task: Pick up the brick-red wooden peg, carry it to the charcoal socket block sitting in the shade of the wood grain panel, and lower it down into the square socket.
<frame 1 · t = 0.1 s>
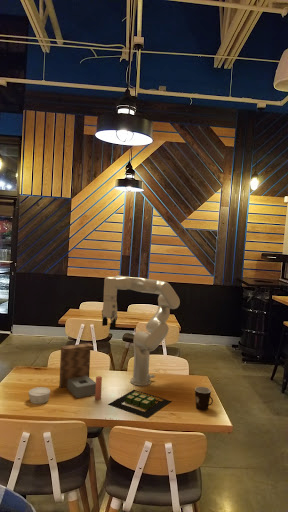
hand: (108, 327, 219), 37 cm above the table, tool pointing down, fingers open, 9 cm apart
socket block: (81, 391, 216), on the table
wood grain panel: (74, 384, 225), on the table
coffee mug: (202, 409, 200), on the table
peg: (98, 398, 207), on the table
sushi: (140, 404, 204), on the table
ramekin: (39, 401, 201), on the table
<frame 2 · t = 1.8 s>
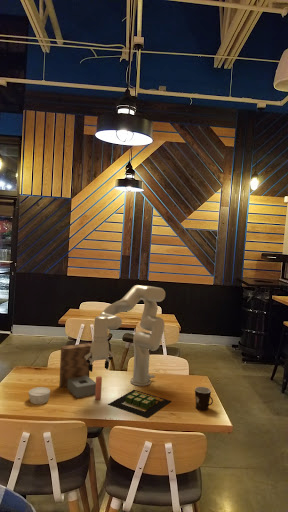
hand: (98, 369, 206), 16 cm above the table, tool pointing down, fingers open, 9 cm apart
nothing on the table moved.
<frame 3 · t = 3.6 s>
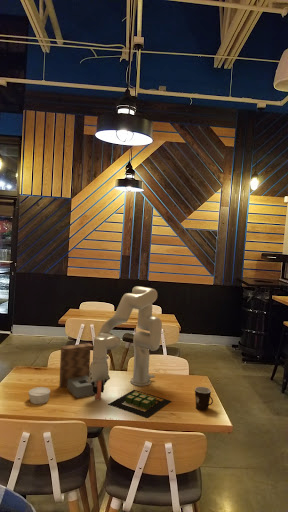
hand: (98, 392, 207), 4 cm above the table, tool pointing down, fingers closed on peg, 3 cm apart
peg: (98, 398, 207), on the table, touching gripper
everything else where it was.
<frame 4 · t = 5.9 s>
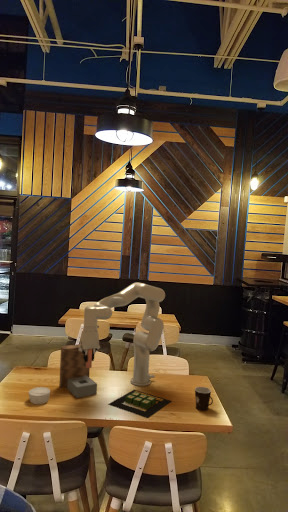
hand: (88, 360, 211), 19 cm above the table, tool pointing down, fingers closed on peg, 3 cm apart
peg: (88, 367, 212), point 16 cm above the table, touching gripper
everything else where it was.
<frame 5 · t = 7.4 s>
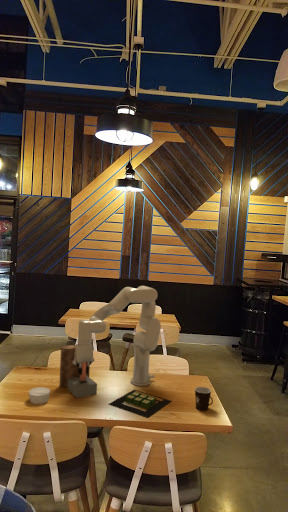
hand: (83, 373, 215), 11 cm above the table, tool pointing down, fingers closed on peg, 3 cm apart
peg: (82, 379, 215), point 7 cm above the table, touching gripper
everything else where it was.
when the fingers open (7 cm above the table, at t = 8.4 s): peg drops 2 cm, resting on socket block.
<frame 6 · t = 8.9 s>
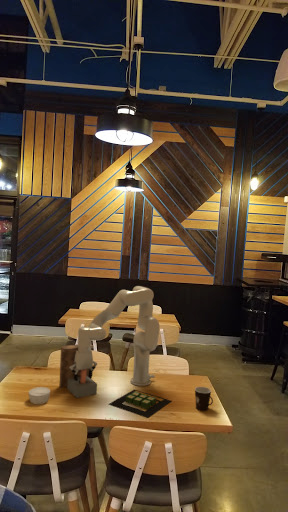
hand: (83, 378, 215), 8 cm above the table, tool pointing down, fingers open, 8 cm apart
peg: (82, 390, 215), point 1 cm above the table, touching socket block
everything else where it was.
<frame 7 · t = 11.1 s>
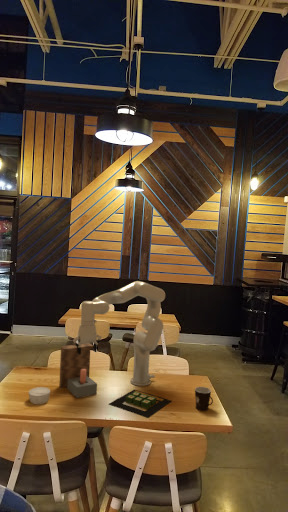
hand: (87, 352, 215), 23 cm above the table, tool pointing down, fingers open, 9 cm apart
nothing on the table moved.
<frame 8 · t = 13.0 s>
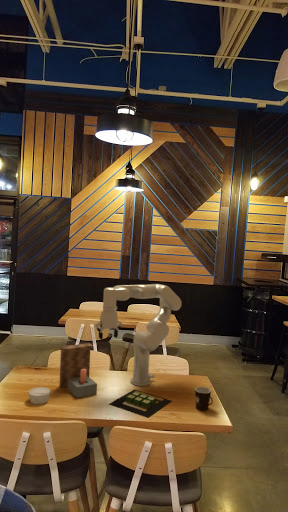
hand: (108, 338, 220), 30 cm above the table, tool pointing down, fingers open, 9 cm apart
nothing on the table moved.
at the end: peg 0.0 cm from the target spot on the socket block, point 1.0 cm above the socket block's base; peg tilted 1°; the gripper is holding nothing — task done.
